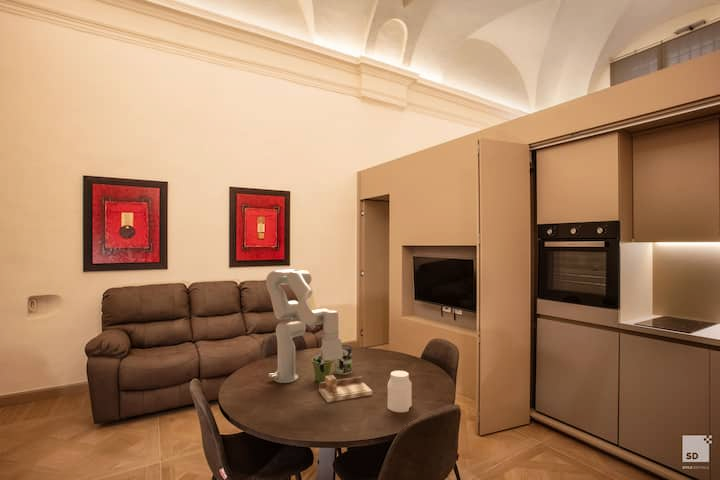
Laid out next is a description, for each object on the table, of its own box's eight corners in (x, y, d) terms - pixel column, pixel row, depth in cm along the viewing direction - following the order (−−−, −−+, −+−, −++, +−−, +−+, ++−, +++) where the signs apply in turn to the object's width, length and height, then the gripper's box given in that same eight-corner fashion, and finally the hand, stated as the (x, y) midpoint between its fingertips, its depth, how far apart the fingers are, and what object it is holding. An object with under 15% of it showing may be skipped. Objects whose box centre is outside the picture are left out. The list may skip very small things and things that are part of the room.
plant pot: (307, 381, 199) (307, 360, 199) (319, 374, 209) (319, 354, 209) (325, 385, 193) (325, 363, 193) (337, 378, 204) (337, 357, 204)
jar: (393, 400, 174) (393, 368, 175) (413, 403, 171) (412, 370, 171) (385, 410, 164) (385, 376, 164) (406, 413, 160) (406, 379, 160)
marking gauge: (331, 396, 174) (331, 383, 174) (325, 388, 184) (325, 375, 184) (339, 395, 175) (339, 382, 176) (332, 386, 186) (332, 374, 186)
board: (327, 402, 172) (327, 392, 172) (319, 391, 185) (319, 382, 185) (372, 394, 181) (372, 385, 181) (361, 384, 194) (361, 376, 194)
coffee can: (352, 368, 219) (352, 344, 219) (351, 374, 209) (351, 349, 209) (335, 368, 219) (335, 344, 220) (333, 374, 209) (333, 349, 209)
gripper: (316, 339, 176) (316, 375, 175) (350, 335, 182) (350, 370, 182) (312, 336, 183) (312, 371, 182) (344, 332, 189) (345, 366, 189)
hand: (331, 370), depth 182 cm, fingers open, 9 cm apart
